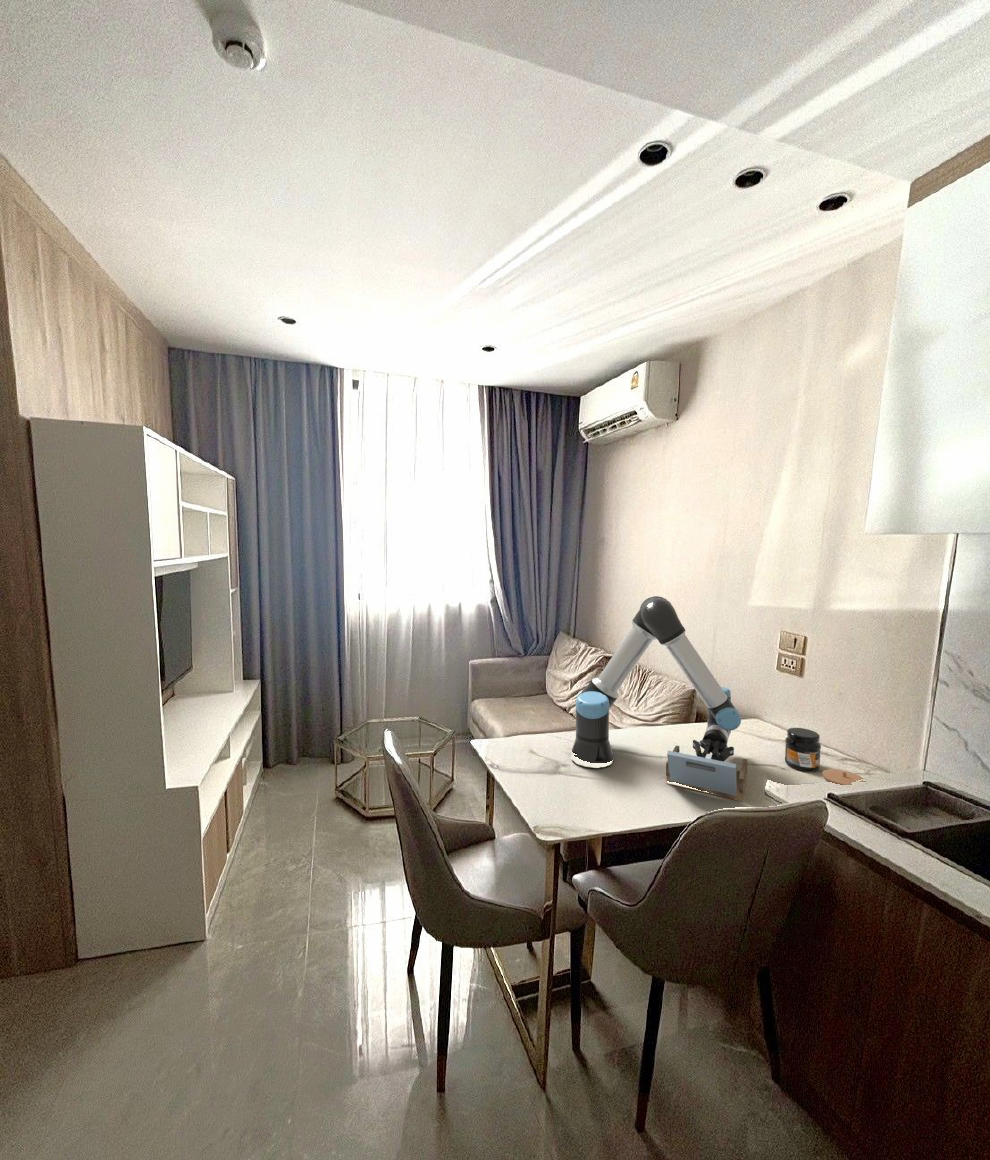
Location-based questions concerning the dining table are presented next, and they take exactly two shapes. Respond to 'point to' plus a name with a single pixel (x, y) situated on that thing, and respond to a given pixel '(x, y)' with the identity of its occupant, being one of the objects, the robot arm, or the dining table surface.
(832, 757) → the dining table surface
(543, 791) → the dining table surface
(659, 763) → the dining table surface
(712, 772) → the tailgate
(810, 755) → the supplement container
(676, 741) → the dining table surface
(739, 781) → the cart bed
